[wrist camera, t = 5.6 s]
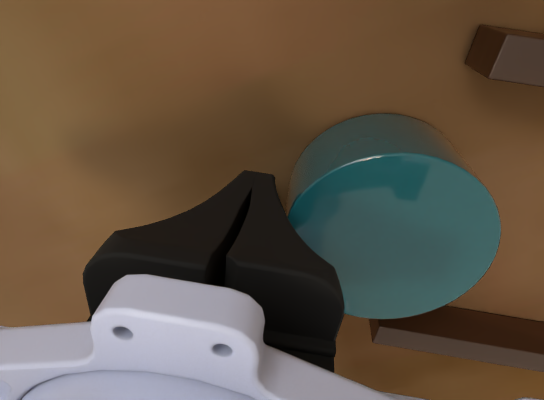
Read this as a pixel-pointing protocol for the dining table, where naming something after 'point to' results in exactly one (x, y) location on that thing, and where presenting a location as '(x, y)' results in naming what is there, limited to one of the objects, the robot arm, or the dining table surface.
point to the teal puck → (393, 215)
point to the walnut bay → (466, 323)
